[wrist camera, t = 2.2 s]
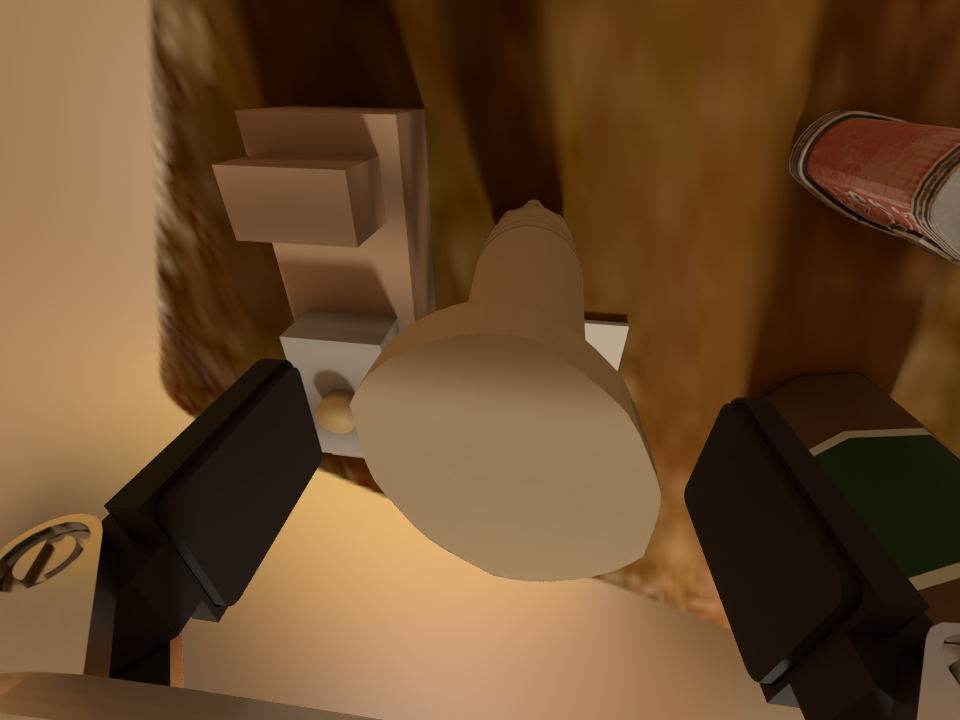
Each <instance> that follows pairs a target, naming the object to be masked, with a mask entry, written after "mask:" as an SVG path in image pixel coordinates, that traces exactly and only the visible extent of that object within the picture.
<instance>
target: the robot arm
mask: <svg viewBox="0 0 960 720" xmlns="http://www.w3.org/2000/svg"><path fill="white" fill-rule="evenodd" d="M321 458H322V449H321V445H320V442H319V438H318V435H317V431H316V428H315V424H314V421H313V417H312V413H311V410H310V406H309V403H308V399H307V396H306V392H305V389H304V385H303V382H302V378H301V374H300V372H299V370H298V369H297V368H296V367H293V365H292V363H291V362H290V361H288V360H279V359H267V358H264V359H260V360H259V361H257V362H256V363H255V364H254V365H253V366H252V367H251V368H250V369H249V370H248V371H247V372H246V373H244V374H243V375H242V376H241V377H240V378H239V379H238V380H237V381H236V382H235V383H234V384H233V385H232V386H231V387H230V388H229V389H227V390H226V391H225V392H224V393H223V394H222V395H221V396H220V397H219V398H218V399H217V400H216V401H215V402H214V403H213V404H212V405H210V406H209V407H208V408H207V409H206V410H205V411H204V412H203V413H202V414H201V415H200V416H199V417H198V418H197V419H196V420H194V421H193V422H192V423H191V424H190V425H189V426H188V427H187V428H186V429H185V430H184V431H183V432H182V433H181V434H180V435H179V436H177V437H176V438H175V439H174V440H173V441H172V442H171V443H170V444H169V445H168V446H167V447H166V448H165V449H164V450H163V451H162V452H161V453H159V454H158V455H157V456H156V457H155V458H154V459H153V460H152V461H151V462H150V463H149V464H148V465H147V466H146V467H145V468H143V469H142V470H141V471H140V472H139V473H138V474H137V475H136V476H135V477H134V478H133V479H132V480H131V481H130V482H129V483H127V484H126V485H125V486H124V487H123V488H122V489H121V490H120V491H119V492H118V493H117V494H116V495H115V496H114V497H113V498H112V499H110V500H109V501H108V502H107V503H106V504H105V505H104V507H105V508H106V509H107V510H108V512H109V513H110V514H109V515H108V516H107V517H106V518H105V519H104V520H103V521H102V522H101V521H100V520H98V518H96V517H95V516H92V515H88V514H73V515H67V516H63V517H59V518H56V519H52V520H50V521H47V522H45V523H43V524H41V525H38V526H36V527H34V528H32V529H31V530H29V531H27V532H25V533H23V534H22V535H20V536H19V537H17V538H15V539H14V540H12V541H11V542H10V543H9V544H7V545H6V546H5V547H3V548H2V549H1V550H0V720H379V719H373V718H367V717H361V716H355V715H349V714H343V713H337V712H330V711H324V710H318V709H312V708H305V707H299V706H292V705H286V704H280V703H273V702H267V701H261V700H255V699H249V698H242V697H236V696H230V695H223V694H217V693H211V692H205V691H198V690H192V689H185V688H184V686H183V685H184V684H183V658H182V629H183V628H184V626H185V625H186V623H187V622H188V620H189V619H190V617H192V618H193V619H200V620H206V621H213V622H219V621H220V619H221V617H222V615H223V614H224V613H225V611H226V609H227V607H228V606H232V605H234V604H235V603H236V602H237V601H238V600H239V599H240V597H241V596H242V594H243V592H244V591H245V589H246V587H247V586H248V584H249V582H250V581H251V579H252V577H253V575H254V574H255V572H256V570H257V569H258V567H259V565H260V564H261V562H262V560H263V559H264V557H265V555H266V553H267V552H268V550H269V549H270V547H271V545H272V544H273V542H274V540H275V538H276V537H277V535H278V533H279V532H280V530H281V528H282V527H283V525H284V523H285V522H286V520H287V518H288V516H289V515H290V513H291V511H292V510H293V508H294V507H295V505H296V503H297V501H298V500H299V498H300V496H301V495H302V493H303V491H304V490H305V488H306V486H307V485H308V483H309V481H310V480H311V478H312V476H313V475H314V473H315V471H316V469H317V468H318V466H319V464H320V461H321ZM684 498H685V503H686V507H687V509H688V512H689V515H690V517H691V520H692V523H693V526H694V528H695V531H696V534H697V536H698V539H699V542H700V545H701V547H702V550H703V553H704V556H705V558H706V561H707V564H708V566H709V569H710V572H711V575H712V577H713V580H714V583H715V585H716V588H717V591H718V594H719V596H720V599H721V602H722V604H723V607H724V610H725V613H726V615H727V618H728V621H729V624H730V626H731V629H732V632H733V634H734V637H735V640H736V643H737V645H738V648H739V651H740V653H741V656H742V659H743V662H744V664H745V667H746V669H747V671H748V673H749V675H750V676H751V678H752V679H753V680H754V681H756V682H759V683H760V686H761V688H762V691H763V693H764V696H765V699H766V701H767V703H770V704H777V705H784V706H790V707H797V708H800V709H801V711H802V713H803V716H804V718H805V720H960V623H944V622H942V623H940V624H937V625H934V624H933V622H932V621H931V620H930V618H929V617H928V616H927V614H926V613H925V611H926V610H927V609H929V608H930V606H929V605H928V603H927V602H926V601H925V600H924V598H923V597H922V596H921V594H920V593H919V592H918V591H917V589H916V588H915V587H914V585H913V584H912V583H911V582H910V580H909V579H908V578H907V576H906V575H905V574H904V572H903V571H902V570H901V569H900V567H899V566H898V565H897V563H896V562H895V561H894V560H893V558H892V557H891V556H890V554H889V553H888V552H887V551H886V549H885V548H884V547H883V545H882V544H881V543H880V541H879V540H878V539H877V538H876V536H875V535H874V534H873V532H872V531H871V530H870V529H869V527H868V526H867V525H866V523H865V522H864V521H863V520H862V518H861V517H860V516H859V514H858V513H857V512H856V511H855V509H854V508H853V507H852V505H851V504H850V503H849V501H848V500H847V499H846V498H845V496H844V495H843V494H842V492H841V491H840V490H839V489H838V487H837V486H836V485H835V483H834V482H833V481H832V480H831V478H830V477H829V476H828V474H827V473H826V472H825V470H824V469H823V468H822V467H821V465H820V464H819V463H818V461H817V460H816V459H815V458H814V456H813V455H812V454H811V452H810V451H809V450H808V449H807V447H806V446H805V445H804V443H803V442H802V441H801V440H800V438H799V437H798V436H797V434H796V433H795V432H794V430H793V429H792V428H791V427H790V425H789V424H788V423H787V421H786V420H785V419H784V418H783V416H782V415H781V414H780V412H779V411H778V410H777V409H776V407H775V406H774V405H773V404H772V403H771V402H770V401H768V400H761V399H749V398H735V399H734V400H733V401H732V402H731V403H730V404H725V405H724V406H723V407H722V408H721V410H720V413H719V415H718V417H717V419H716V421H715V424H714V426H713V428H712V430H711V432H710V435H709V437H708V439H707V441H706V443H705V446H704V448H703V450H702V452H701V454H700V457H699V459H698V461H697V463H696V465H695V468H694V470H693V472H692V474H691V476H690V479H689V481H688V483H687V485H686V488H685V493H684Z"/></svg>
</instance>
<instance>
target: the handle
mask: <svg viewBox="0 0 960 720" xmlns="http://www.w3.org/2000/svg"><path fill="white" fill-rule="evenodd" d="M350 408H351V412H352V416H353V420H354V423H355V427H356V431H357V435H358V438H359V442H360V445H361V448H362V452H363V455H364V458H365V461H366V464H367V466H368V468H369V470H370V472H371V474H372V477H373V479H374V480H375V482H376V483H377V484H378V485H379V487H380V488H381V489H382V491H383V492H384V493H385V495H386V496H387V497H388V498H389V499H390V500H391V501H392V502H393V504H394V505H395V506H396V507H397V508H398V509H399V510H400V511H401V512H402V513H403V514H404V516H405V517H406V518H407V519H408V520H409V521H410V522H411V523H412V524H413V525H414V526H415V527H416V528H417V529H418V530H419V531H420V532H421V533H423V534H424V535H425V536H426V537H427V538H428V539H430V540H431V541H433V542H434V543H436V544H438V545H439V546H440V547H442V548H443V549H445V550H447V551H448V552H450V553H452V554H454V555H456V556H458V557H459V558H461V559H463V560H465V561H467V562H469V563H471V564H472V565H474V566H476V567H479V568H480V569H482V570H484V571H486V572H488V573H490V574H492V575H494V576H498V577H503V578H508V579H515V580H523V581H563V580H574V579H580V578H586V577H592V576H597V575H601V574H604V573H608V572H612V571H615V570H617V569H620V568H622V567H624V566H626V565H629V564H631V563H632V562H634V561H636V560H637V559H639V558H641V557H643V556H644V553H645V550H646V548H647V545H648V543H649V540H650V538H651V535H652V532H653V529H654V526H655V524H656V521H657V518H658V515H659V508H660V501H661V493H660V488H659V482H658V477H657V472H656V469H655V465H654V461H653V458H652V454H651V451H650V448H649V444H648V441H647V438H646V435H645V432H644V430H643V427H642V424H641V421H640V419H639V416H638V413H637V411H636V408H635V405H634V403H633V401H632V398H631V396H630V393H629V391H628V389H627V386H626V384H625V383H624V381H623V379H622V377H621V376H620V374H619V372H618V371H617V370H616V369H615V368H614V367H613V366H612V365H611V364H610V363H609V362H608V361H607V360H606V359H605V358H604V357H603V356H602V355H601V354H600V353H599V352H598V351H597V350H596V349H595V348H594V347H593V346H592V345H591V344H589V343H588V342H587V341H586V340H585V323H584V298H583V276H582V269H581V264H580V260H579V256H578V252H577V249H576V246H575V243H574V240H573V238H572V235H571V233H570V231H569V229H568V226H567V224H566V222H565V220H564V218H563V217H562V216H561V215H560V214H555V213H554V212H552V211H550V210H548V209H547V208H544V207H543V205H542V204H541V203H540V201H539V200H529V201H528V202H527V203H526V204H525V205H524V206H522V207H521V208H518V209H516V210H508V211H507V212H506V213H505V214H504V215H503V216H502V218H501V219H500V221H499V223H498V224H497V225H496V226H495V227H494V229H493V230H492V232H491V233H490V235H489V237H488V238H487V240H486V242H485V244H484V246H483V249H482V251H481V254H480V256H479V259H478V262H477V265H476V269H475V273H474V278H473V283H472V288H471V292H470V297H469V302H464V303H460V304H457V305H453V306H450V307H447V308H444V309H441V310H438V311H435V312H433V313H431V314H429V315H427V316H425V317H424V318H422V319H420V320H418V321H416V322H414V323H412V324H411V325H409V326H408V327H407V328H405V329H404V330H403V331H401V332H400V333H399V334H398V335H396V336H395V337H394V338H393V339H391V340H390V342H389V343H388V344H387V345H386V347H385V348H384V349H383V351H382V352H381V353H380V355H379V356H378V357H377V359H376V360H375V362H374V363H373V365H372V366H371V368H370V369H369V371H368V373H367V374H366V376H365V377H364V379H363V381H362V382H361V384H360V385H359V387H358V389H357V390H356V393H355V395H354V397H353V399H352V401H351V403H350Z"/></svg>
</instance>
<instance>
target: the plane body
mask: <svg viewBox="0 0 960 720" xmlns="http://www.w3.org/2000/svg"><path fill="white" fill-rule="evenodd" d="M235 114H236V117H237V121H238V124H239V128H240V131H241V135H242V138H243V142H244V145H245V149H246V152H247V156H246V157H242V158H238V159H233V160H229V161H225V162H221V163H217V164H212V168H213V171H214V174H215V177H216V180H217V183H218V186H219V189H220V191H221V194H222V197H223V200H224V203H225V206H226V209H227V212H228V215H229V218H230V221H231V224H232V227H233V230H234V233H235V236H236V239H237V240H240V241H257V242H272V244H273V247H274V251H275V254H276V258H277V261H278V265H279V268H280V272H281V275H282V279H283V282H284V286H285V289H286V293H287V296H288V300H289V303H290V307H291V310H292V314H293V317H294V321H295V323H294V324H292V325H291V326H290V327H289V328H288V329H287V330H286V331H285V332H284V333H283V334H282V335H281V336H280V339H281V343H282V346H283V349H284V352H285V355H286V358H287V360H288V361H290V362H291V363H292V365H293V367H296V368H297V369H298V370H299V372H300V374H301V378H302V382H303V385H304V389H305V392H306V396H307V399H308V403H309V406H310V410H311V413H312V417H313V421H314V424H315V428H316V431H317V435H318V438H319V442H320V445H321V449H322V452H327V453H332V454H334V455H343V456H352V457H360V458H364V455H363V452H362V448H361V445H360V442H359V438H358V435H357V431H356V427H355V423H354V420H353V416H352V412H351V408H350V403H351V401H352V399H353V397H354V395H355V393H356V390H357V389H358V387H359V385H360V384H361V382H362V381H363V379H364V377H365V376H366V374H367V373H368V371H369V369H370V368H371V366H372V365H373V363H374V362H375V360H376V359H377V357H378V356H379V355H380V353H381V352H382V351H383V349H384V348H385V347H386V345H387V344H388V343H389V342H390V340H391V339H393V338H394V337H395V336H396V335H398V334H399V333H400V332H401V331H403V330H404V329H405V328H407V327H408V326H409V325H411V324H412V323H414V322H416V321H418V320H420V319H422V318H424V317H425V316H427V315H429V314H431V313H433V312H435V311H436V306H435V288H434V270H433V251H432V233H431V215H430V197H429V179H428V161H427V143H426V124H425V109H405V108H363V107H320V106H284V107H272V108H260V109H248V110H236V111H235Z"/></svg>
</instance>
